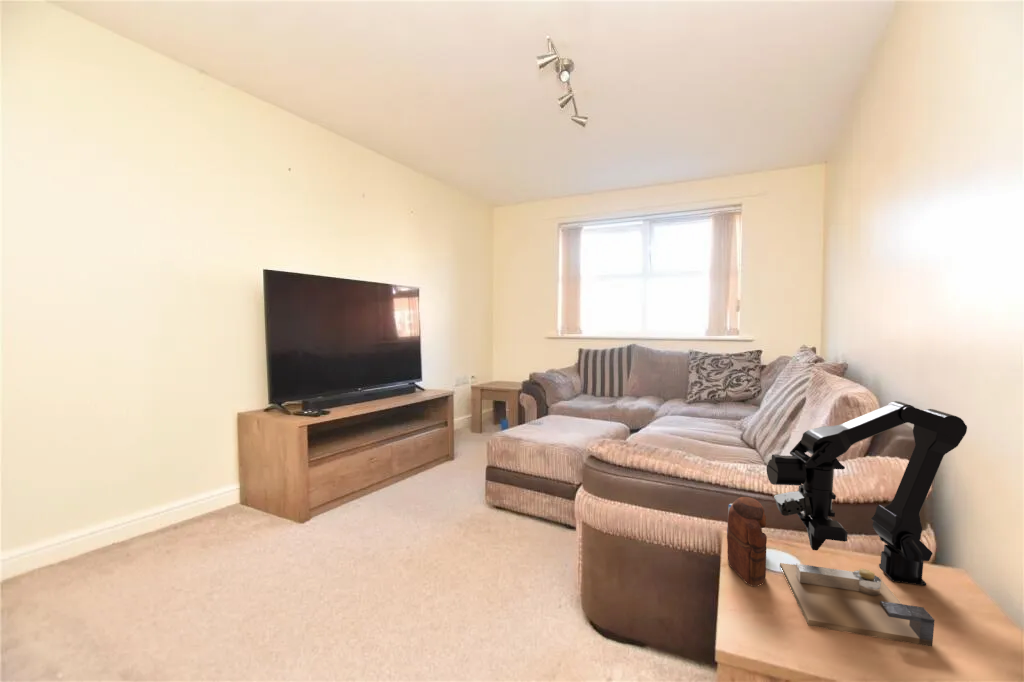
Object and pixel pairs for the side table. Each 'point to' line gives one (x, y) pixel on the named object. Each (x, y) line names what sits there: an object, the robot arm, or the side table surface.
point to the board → (849, 609)
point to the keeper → (912, 619)
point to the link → (838, 579)
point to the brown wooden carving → (747, 540)
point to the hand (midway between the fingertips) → (814, 549)
